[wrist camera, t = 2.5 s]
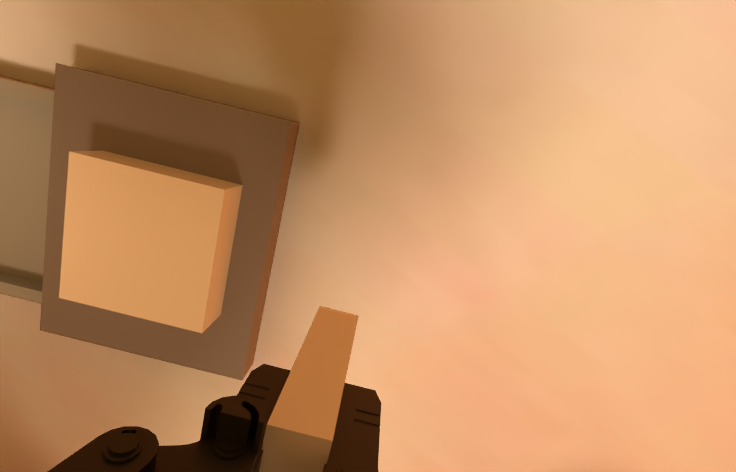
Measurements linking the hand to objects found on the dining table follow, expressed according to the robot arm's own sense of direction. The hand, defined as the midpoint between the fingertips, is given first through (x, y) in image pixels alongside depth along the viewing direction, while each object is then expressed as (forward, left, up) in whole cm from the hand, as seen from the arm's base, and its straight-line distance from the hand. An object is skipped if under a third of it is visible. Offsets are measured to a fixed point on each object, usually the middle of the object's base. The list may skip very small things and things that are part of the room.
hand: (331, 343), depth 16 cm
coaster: (0, +11, -8) cm, 14 cm away
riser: (0, +12, -10) cm, 15 cm away
